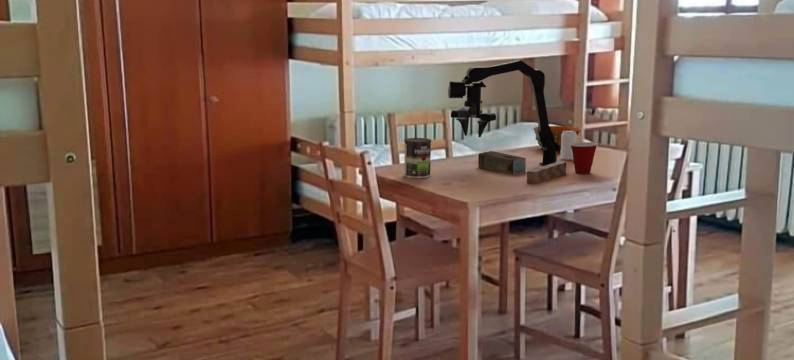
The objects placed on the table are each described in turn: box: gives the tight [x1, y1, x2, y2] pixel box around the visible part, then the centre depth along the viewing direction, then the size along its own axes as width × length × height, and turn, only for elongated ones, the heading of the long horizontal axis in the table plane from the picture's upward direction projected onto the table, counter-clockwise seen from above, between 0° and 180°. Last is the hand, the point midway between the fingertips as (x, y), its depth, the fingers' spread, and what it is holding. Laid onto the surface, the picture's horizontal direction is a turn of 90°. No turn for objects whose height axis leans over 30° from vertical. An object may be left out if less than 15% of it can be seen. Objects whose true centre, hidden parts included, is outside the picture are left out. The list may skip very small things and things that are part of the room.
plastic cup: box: [570, 141, 599, 175], centre depth 321 cm, size 11×11×12 cm
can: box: [560, 130, 578, 161], centre depth 350 cm, size 6×6×12 cm
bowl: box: [533, 125, 581, 151], centre depth 373 cm, size 21×21×10 cm
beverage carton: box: [478, 150, 527, 175], centre depth 327 cm, size 8×19×7 cm, turn 41°
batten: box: [526, 160, 567, 185], centre depth 311 cm, size 26×3×4 cm, turn 142°
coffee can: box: [403, 137, 432, 179], centre depth 313 cm, size 10×10×14 cm
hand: (472, 136), depth 333 cm, fingers open, 6 cm apart
